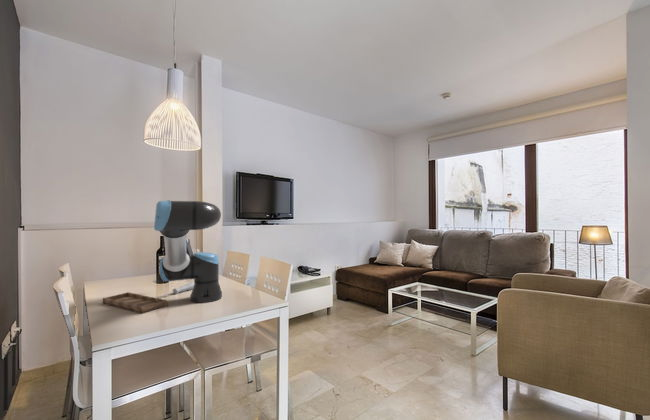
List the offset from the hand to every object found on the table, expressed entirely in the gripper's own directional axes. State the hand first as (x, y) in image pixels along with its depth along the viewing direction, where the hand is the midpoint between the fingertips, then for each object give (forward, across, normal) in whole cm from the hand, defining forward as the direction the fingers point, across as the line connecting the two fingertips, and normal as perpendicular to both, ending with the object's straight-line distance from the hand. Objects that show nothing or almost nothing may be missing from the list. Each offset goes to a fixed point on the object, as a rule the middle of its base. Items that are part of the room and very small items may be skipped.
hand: (178, 268), depth 162 cm
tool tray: (+13, +1, +23) cm, 27 cm away
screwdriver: (+14, 0, 0) cm, 14 cm away
